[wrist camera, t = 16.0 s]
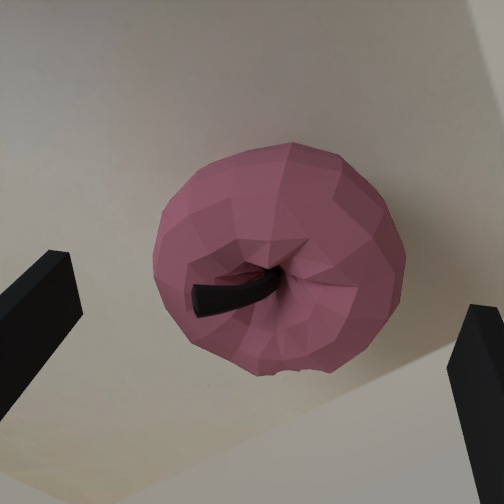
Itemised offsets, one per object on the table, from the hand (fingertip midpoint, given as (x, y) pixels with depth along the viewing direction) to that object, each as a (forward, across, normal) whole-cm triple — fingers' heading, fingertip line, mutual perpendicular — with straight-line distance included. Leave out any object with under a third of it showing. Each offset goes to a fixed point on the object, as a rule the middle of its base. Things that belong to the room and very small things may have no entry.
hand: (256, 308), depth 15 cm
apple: (+9, 0, 0) cm, 9 cm away
